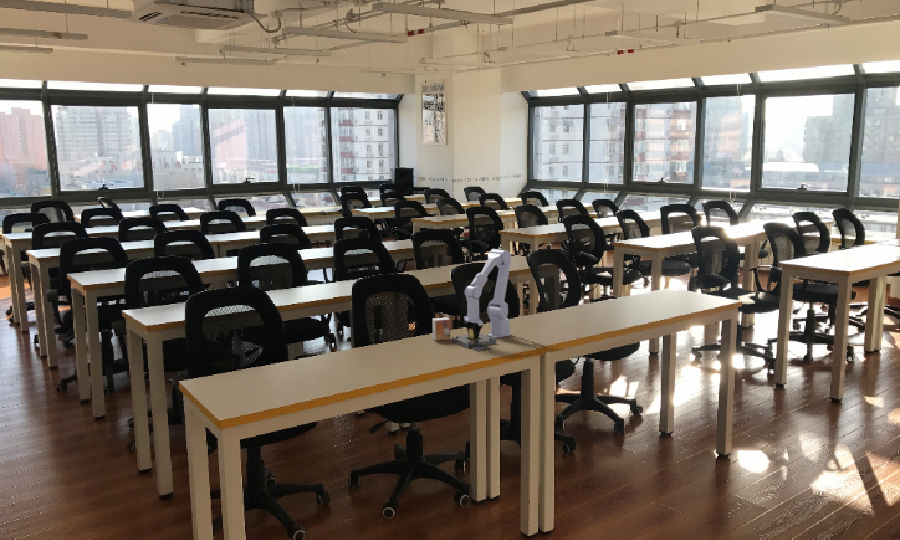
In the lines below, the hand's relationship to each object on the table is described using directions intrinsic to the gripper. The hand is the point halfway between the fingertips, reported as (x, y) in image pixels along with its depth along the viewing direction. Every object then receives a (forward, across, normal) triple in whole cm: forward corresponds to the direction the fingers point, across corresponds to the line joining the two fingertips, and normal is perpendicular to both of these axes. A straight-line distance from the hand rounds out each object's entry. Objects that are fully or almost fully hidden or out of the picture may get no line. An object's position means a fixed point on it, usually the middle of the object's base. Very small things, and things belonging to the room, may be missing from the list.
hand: (473, 337), depth 350 cm
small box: (+3, -14, -10) cm, 18 cm away
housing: (+3, 0, 0) cm, 3 cm away
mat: (+3, +12, -4) cm, 13 cm away
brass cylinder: (+3, 0, 0) cm, 3 cm away
